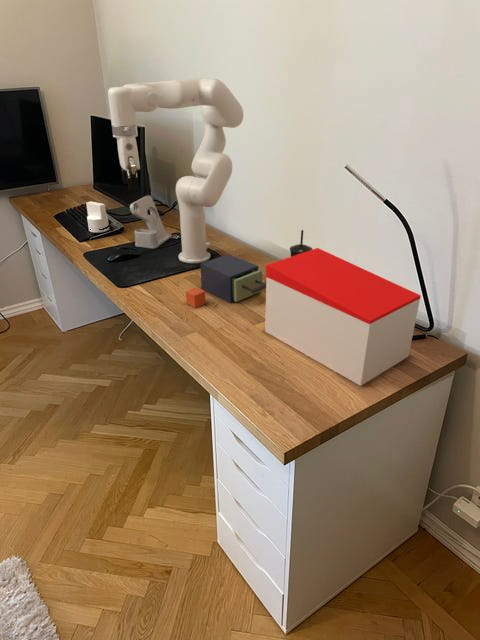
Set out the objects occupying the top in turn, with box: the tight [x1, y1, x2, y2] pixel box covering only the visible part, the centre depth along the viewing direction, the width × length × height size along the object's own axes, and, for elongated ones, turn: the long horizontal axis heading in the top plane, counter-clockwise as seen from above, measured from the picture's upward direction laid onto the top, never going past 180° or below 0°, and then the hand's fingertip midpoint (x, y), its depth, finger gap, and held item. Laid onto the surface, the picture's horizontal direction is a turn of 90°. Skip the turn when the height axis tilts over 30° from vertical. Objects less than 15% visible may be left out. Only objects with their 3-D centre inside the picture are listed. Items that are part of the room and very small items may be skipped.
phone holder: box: [129, 194, 173, 249], centre depth 206 cm, size 17×10×18 cm, turn 162°
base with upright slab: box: [85, 201, 110, 234], centre depth 221 cm, size 9×9×12 cm
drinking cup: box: [289, 229, 314, 257], centre depth 166 cm, size 8×8×20 cm
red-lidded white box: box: [264, 247, 421, 387], centre depth 132 cm, size 21×35×21 cm, turn 40°
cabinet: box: [200, 253, 259, 304], centre depth 165 cm, size 15×13×9 cm
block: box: [185, 286, 207, 309], centre depth 157 cm, size 4×4×4 cm
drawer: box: [232, 269, 266, 302], centre depth 161 cm, size 19×12×7 cm, turn 44°
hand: (131, 186), depth 159 cm, fingers open, 9 cm apart
